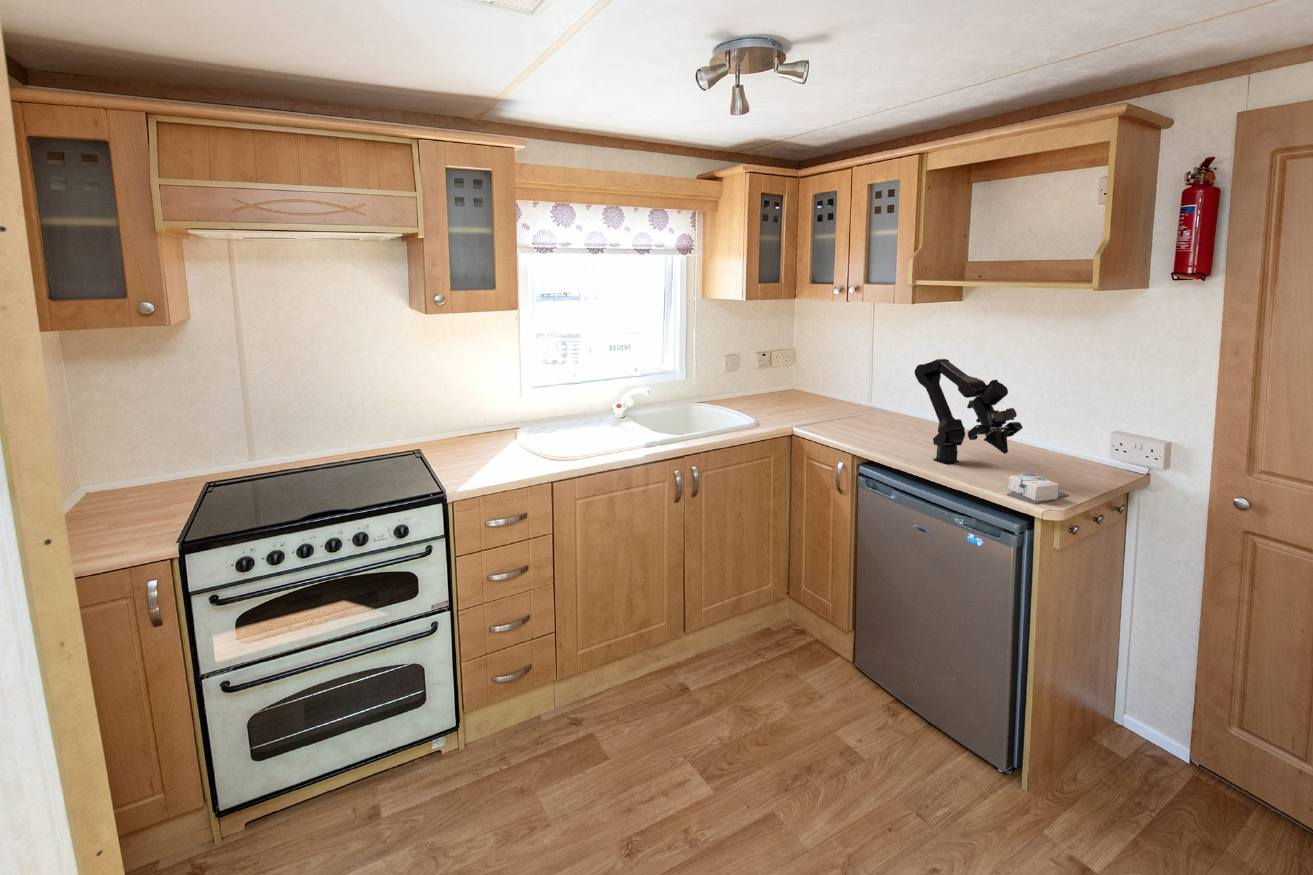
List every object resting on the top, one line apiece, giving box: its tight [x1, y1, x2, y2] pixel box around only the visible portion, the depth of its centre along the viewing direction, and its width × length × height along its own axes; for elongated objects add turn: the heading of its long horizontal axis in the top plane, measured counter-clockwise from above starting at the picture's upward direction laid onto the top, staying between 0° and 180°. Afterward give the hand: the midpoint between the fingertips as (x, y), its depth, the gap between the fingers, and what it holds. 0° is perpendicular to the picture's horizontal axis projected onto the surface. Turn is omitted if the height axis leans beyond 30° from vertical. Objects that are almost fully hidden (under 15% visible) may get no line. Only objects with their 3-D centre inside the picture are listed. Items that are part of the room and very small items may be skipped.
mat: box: [1006, 491, 1069, 505], centre depth 230 cm, size 10×16×1 cm, turn 119°
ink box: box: [1007, 473, 1060, 501], centre depth 229 cm, size 9×5×12 cm
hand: (1006, 453), depth 239 cm, fingers closed
